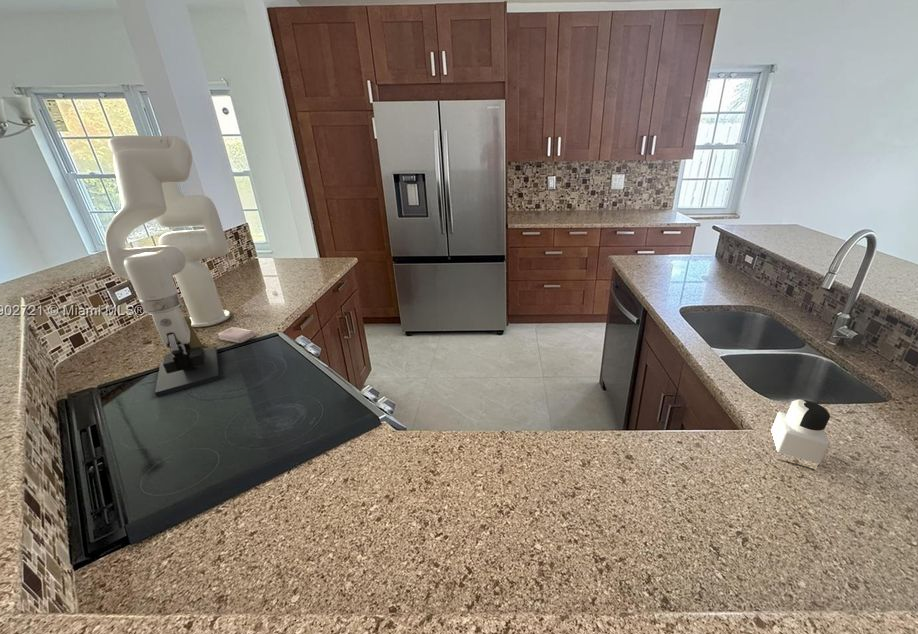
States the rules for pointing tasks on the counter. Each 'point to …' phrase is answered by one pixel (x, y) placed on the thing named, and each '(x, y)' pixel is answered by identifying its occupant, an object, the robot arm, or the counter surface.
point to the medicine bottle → (802, 431)
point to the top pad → (195, 356)
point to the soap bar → (236, 335)
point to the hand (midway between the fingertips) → (186, 362)
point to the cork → (192, 334)
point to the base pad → (188, 375)
